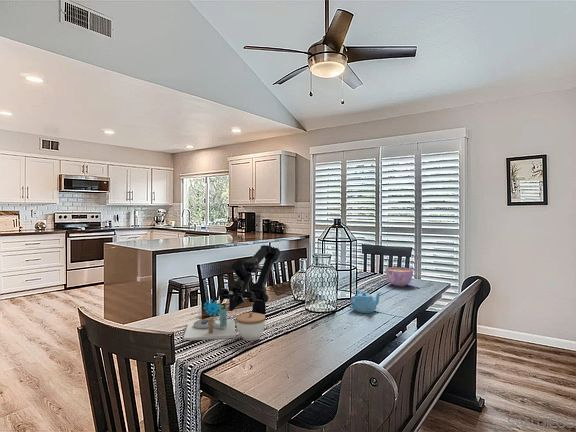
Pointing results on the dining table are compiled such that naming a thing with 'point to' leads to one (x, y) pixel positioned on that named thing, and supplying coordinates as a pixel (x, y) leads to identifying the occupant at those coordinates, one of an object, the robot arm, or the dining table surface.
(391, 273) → the bowl of food
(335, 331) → the dining table surface
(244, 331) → the lidded bowl
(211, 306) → the gear
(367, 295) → the teapot
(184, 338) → the clock board
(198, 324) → the flange plate
